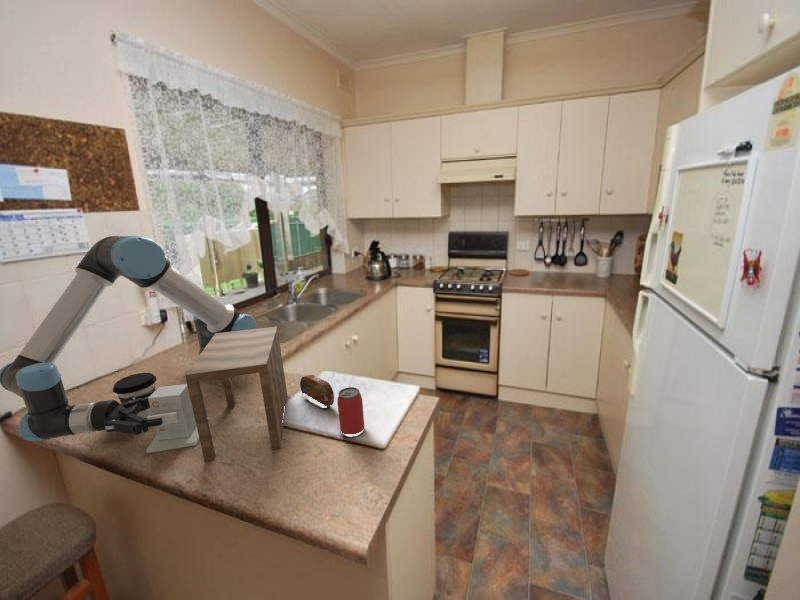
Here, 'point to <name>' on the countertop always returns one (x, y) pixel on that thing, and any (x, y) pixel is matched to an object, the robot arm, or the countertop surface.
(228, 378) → the wooden step stool
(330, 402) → the brown rounded flat block
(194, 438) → the pad
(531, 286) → the countertop surface
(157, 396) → the small box
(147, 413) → the coffee cup
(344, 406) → the beer can
